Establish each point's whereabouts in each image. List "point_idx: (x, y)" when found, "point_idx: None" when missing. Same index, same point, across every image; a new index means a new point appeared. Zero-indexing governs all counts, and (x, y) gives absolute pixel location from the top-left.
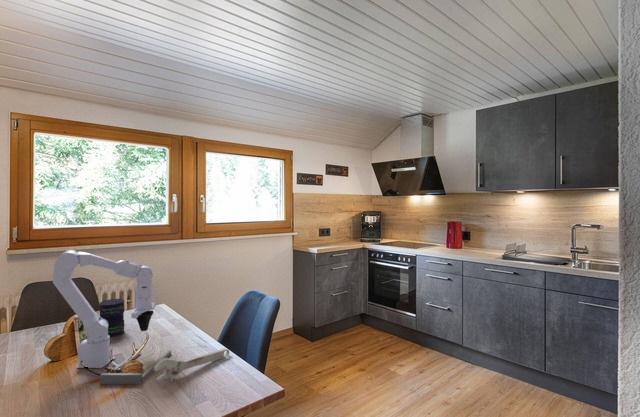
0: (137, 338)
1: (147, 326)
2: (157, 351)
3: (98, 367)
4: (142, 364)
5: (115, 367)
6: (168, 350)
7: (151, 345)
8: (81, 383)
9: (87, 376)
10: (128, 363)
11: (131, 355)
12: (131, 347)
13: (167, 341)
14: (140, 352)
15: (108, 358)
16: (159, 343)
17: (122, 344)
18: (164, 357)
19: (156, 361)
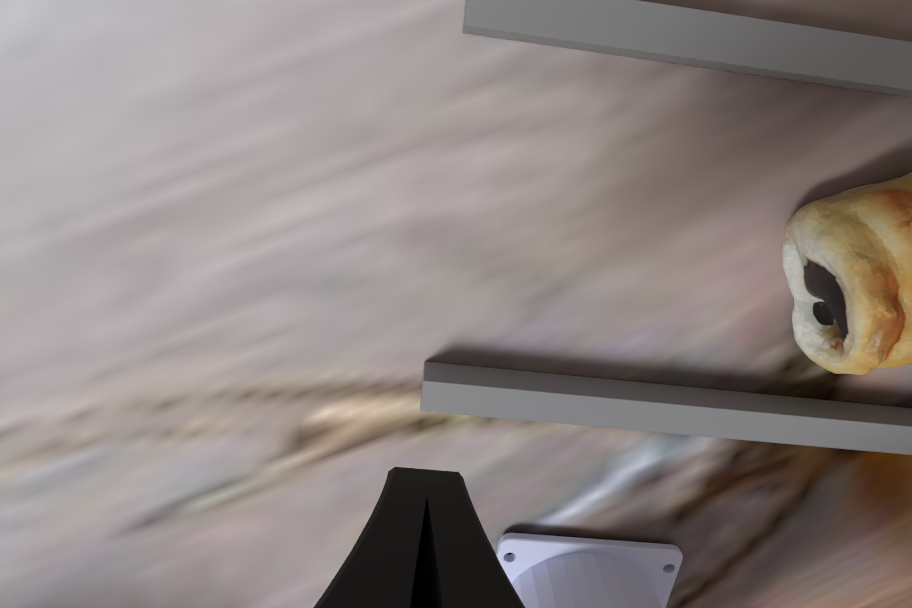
0: (25, 536)
1: (429, 516)
2: (372, 201)
3: (676, 570)
4: (910, 195)
5: (806, 444)
6: (476, 12)
7: (199, 332)
8: (895, 558)
9: (791, 572)
10: (888, 347)
11: (555, 415)
12: (258, 501)
13: (57, 181)
14: (424, 368)
15: (591, 573)
16: (133, 262)
17: (189, 596)
18: (663, 8)
19: (802, 66)
